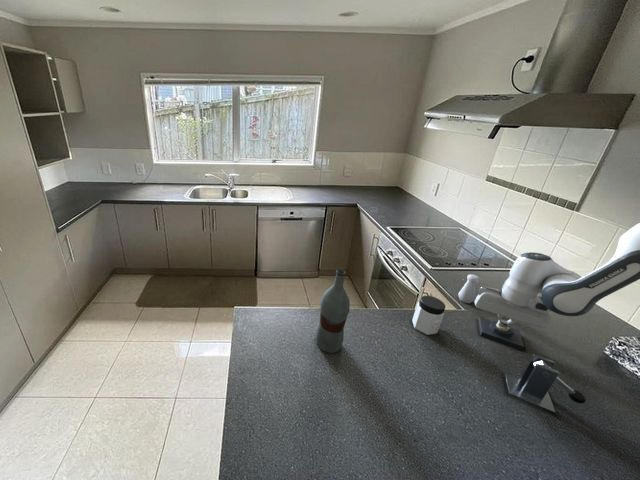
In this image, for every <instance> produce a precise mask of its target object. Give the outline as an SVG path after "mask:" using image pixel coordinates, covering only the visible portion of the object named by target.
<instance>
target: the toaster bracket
mask: <svg viewBox="0 0 640 480" xmlns="http://www.w3.org/2000/svg"><path fill="white" fill-rule="evenodd" d="M540 360H543V361H544V362H545V363H546V364H548V365H549V366H550V367H551V368H549V367H546V366H543V365H540V364H538V363H536V365H535V367H534V364H533V363H534V362H537V361H540ZM555 363H556V362H555V360H553V359H550V358H547V357H544V356H541V355H538V354H535V353H533V354H532V355H531V357H530V359H529V361H528V362H527V364H526V365H525V368H524V370H523V371H522V373H521V374H520V377H519V378H517V377H515V376H512V375H509V374H507V373H504V377H505V381H506V387H507V390H508V394H509V395H511V396H514V397H516V398H519V399H521V400H523V401H526V402H528V403H530V404H533V405H535V406H537V407H540V408H543V409H545V410H547V411H550V412H552V413H554V414H556V410H555V407H554V404H553V401H552V398H551V396H550V393H549V390H550V388H551V387H552V386H553V384H554V383H555V382H556V381H555V379H556V378H557V377H559V375H560V372H559V370H556V369H554V368H553V367H554V366H555Z"/></svg>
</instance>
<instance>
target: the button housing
mask: <svg viewBox="0 0 640 480" xmlns="http://www.w3.org/2000/svg"><path fill="white" fill-rule="evenodd" d="M477 322H478V323H477V324H478V330H479V336H480V337H482V338H486V339H488V340H491V341H494V342H497V343H499V344H502V345H505V346H508V347H510V348H514V349H516V350H519V351H523V350H524V348H525V345H524V341H523V339H522V336H521V333H520V329H518V328H514V327H513V326H512V327H511V325H510V326H509V330H508V331H503V330H501V329H499V328H497V327H496V324H497V323H498V320H490V319H487V318H484V317H481V316H479V318H478V320H477Z"/></svg>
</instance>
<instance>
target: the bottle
mask: <svg viewBox="0 0 640 480" xmlns="http://www.w3.org/2000/svg"><path fill="white" fill-rule="evenodd" d="M335 272H336V273H335V278H334V284H333V285H331V286H330V287H329V288H328V289H326V290H325V291H324V293H323V295H322V297H321V299H320V300H321V301H320V312H319V321H318V324H317V328H316V331H315V343H316V345H317V347H318V348H319V349H320V350H321V351H323V352H325V353H328V354H329V353H330V354H331V353H337V352H339V350H340V349H341V347H342V345H343V343H344V335H345V334H344V332H345V325H346V322H347V319H348V315H349V313H350V306H351V303H350V297H349V295H348V293H347V292H346V289H345V287H344V283H345V282H344V281H345V276H346V270H344V269H341V268H338V269H337V270H336V271H335Z"/></svg>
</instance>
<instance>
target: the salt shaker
mask: <svg viewBox="0 0 640 480" xmlns="http://www.w3.org/2000/svg"><path fill="white" fill-rule="evenodd" d="M466 278H467V281H466V282H465V284H463V286H462V288H461V289H460V290H459V292H458V298H459V301H461V302H463V303H464V304H471V303H472V302H475V299H476V290H477V284H479V283H480V280H481V278H480V276H478V275H476V274H467V277H466Z"/></svg>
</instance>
